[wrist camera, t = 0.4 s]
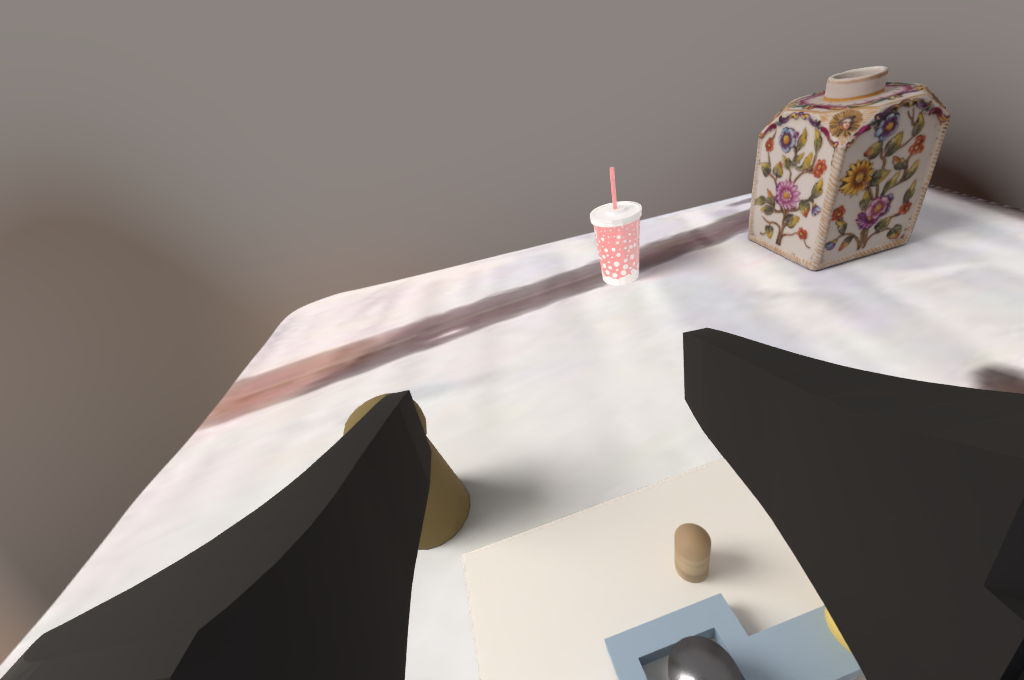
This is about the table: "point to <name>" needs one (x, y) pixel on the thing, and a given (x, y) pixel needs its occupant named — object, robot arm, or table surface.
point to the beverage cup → (618, 238)
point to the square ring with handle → (741, 644)
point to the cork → (433, 490)
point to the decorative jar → (846, 169)
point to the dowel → (692, 552)
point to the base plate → (626, 577)
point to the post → (701, 661)
